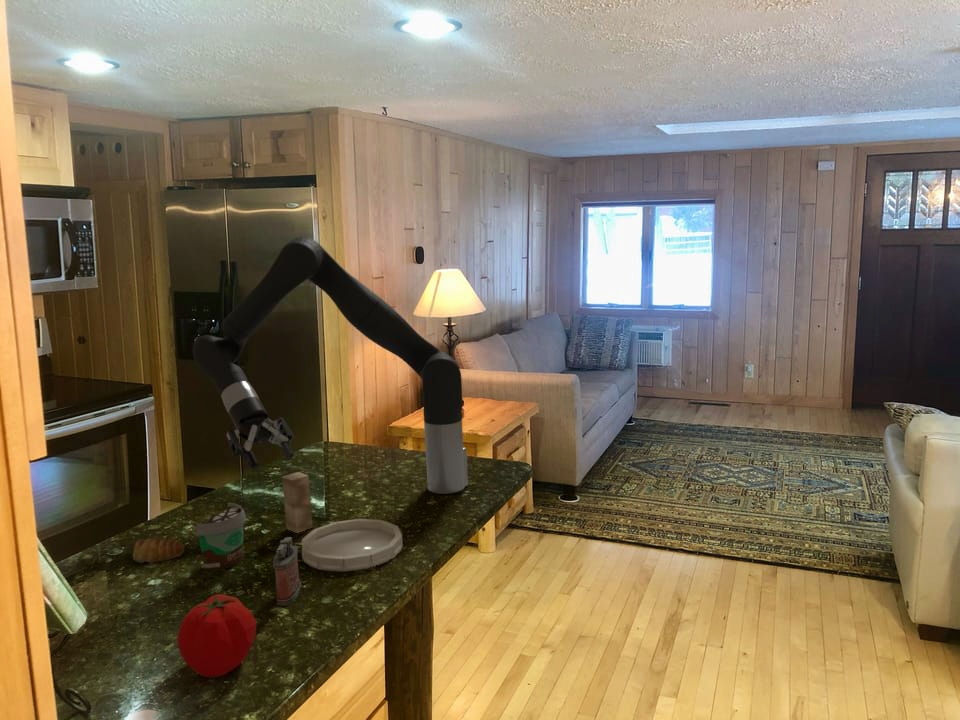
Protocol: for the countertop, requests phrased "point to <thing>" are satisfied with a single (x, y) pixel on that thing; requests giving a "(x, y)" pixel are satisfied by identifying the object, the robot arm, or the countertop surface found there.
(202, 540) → the food container
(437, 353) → the robot arm
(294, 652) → the countertop surface
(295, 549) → the lighter
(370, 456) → the countertop surface
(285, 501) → the oak block
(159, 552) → the pastry
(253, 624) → the tomato
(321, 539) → the round dish
